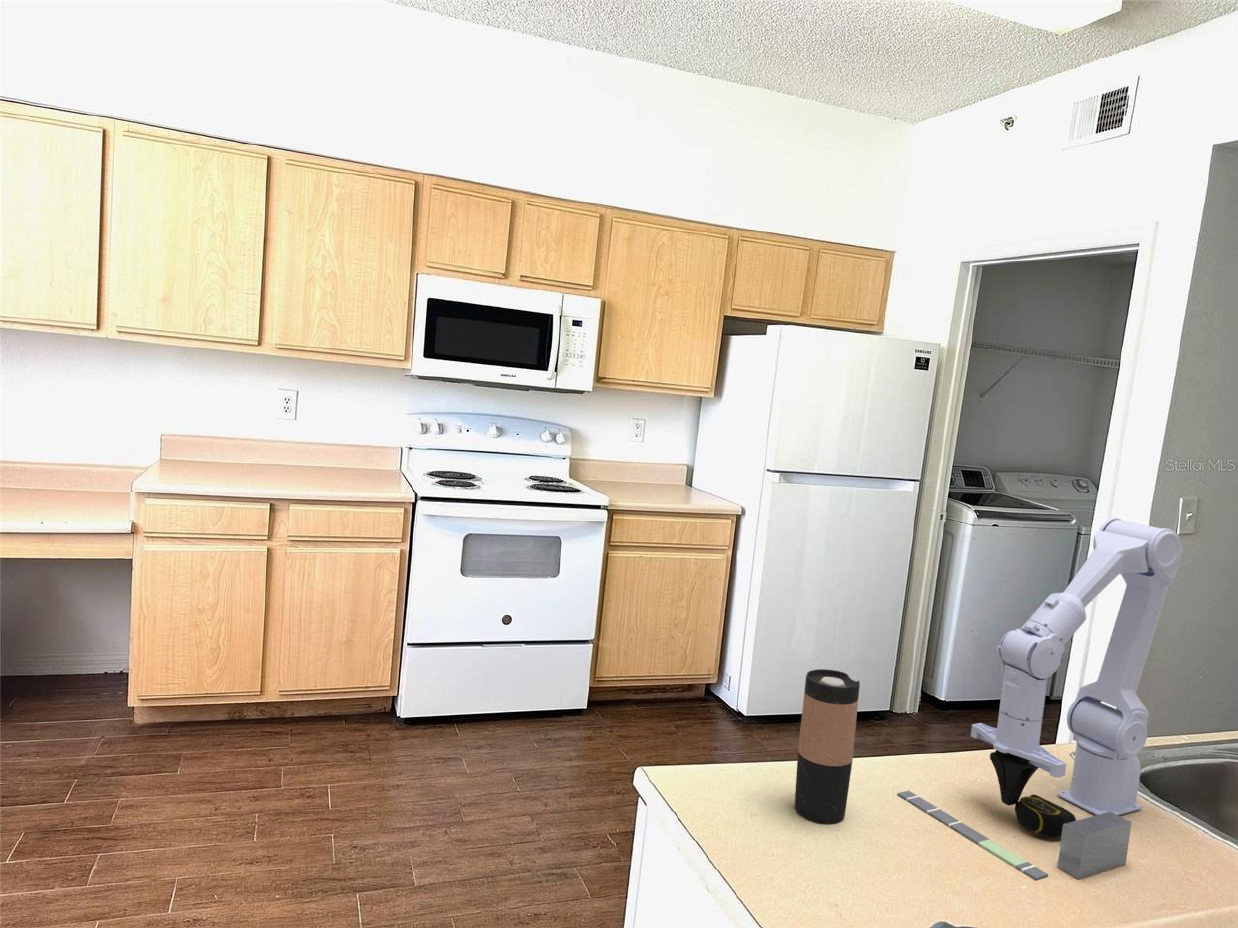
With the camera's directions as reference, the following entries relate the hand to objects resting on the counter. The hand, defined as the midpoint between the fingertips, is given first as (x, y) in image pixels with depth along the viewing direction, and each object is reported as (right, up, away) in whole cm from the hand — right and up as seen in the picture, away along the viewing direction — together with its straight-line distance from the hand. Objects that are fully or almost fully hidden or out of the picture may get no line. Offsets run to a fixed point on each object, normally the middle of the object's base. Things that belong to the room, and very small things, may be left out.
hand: (1009, 802), depth 128 cm
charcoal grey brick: (+6, -4, -11) cm, 13 cm away
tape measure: (+4, -3, -2) cm, 5 cm away
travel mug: (-28, -1, -2) cm, 28 cm away
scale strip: (-8, -2, -5) cm, 10 cm away
